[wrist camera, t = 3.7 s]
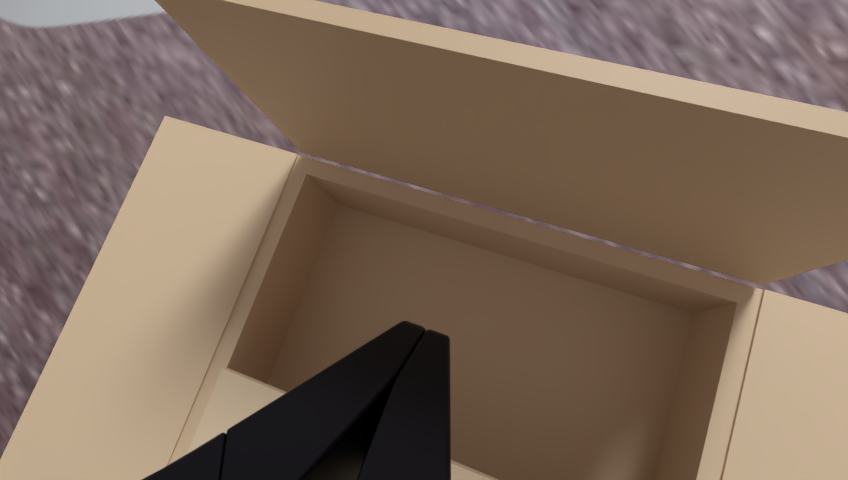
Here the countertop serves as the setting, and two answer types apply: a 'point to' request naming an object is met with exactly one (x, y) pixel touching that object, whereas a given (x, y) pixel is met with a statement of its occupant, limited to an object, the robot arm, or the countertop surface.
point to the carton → (433, 309)
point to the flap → (545, 132)
